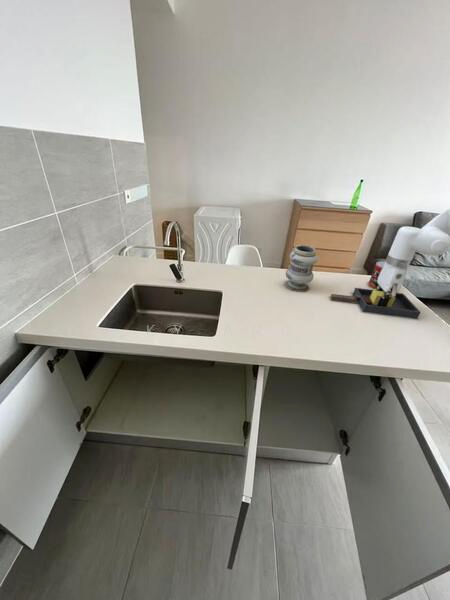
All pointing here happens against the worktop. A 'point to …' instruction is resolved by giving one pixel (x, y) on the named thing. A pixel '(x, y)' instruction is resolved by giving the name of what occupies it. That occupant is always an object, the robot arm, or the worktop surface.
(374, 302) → the sponge
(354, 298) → the pan handle
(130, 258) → the worktop surface
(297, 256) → the apothecary jar
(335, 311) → the worktop surface
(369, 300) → the plate
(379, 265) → the canned food
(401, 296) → the pan
